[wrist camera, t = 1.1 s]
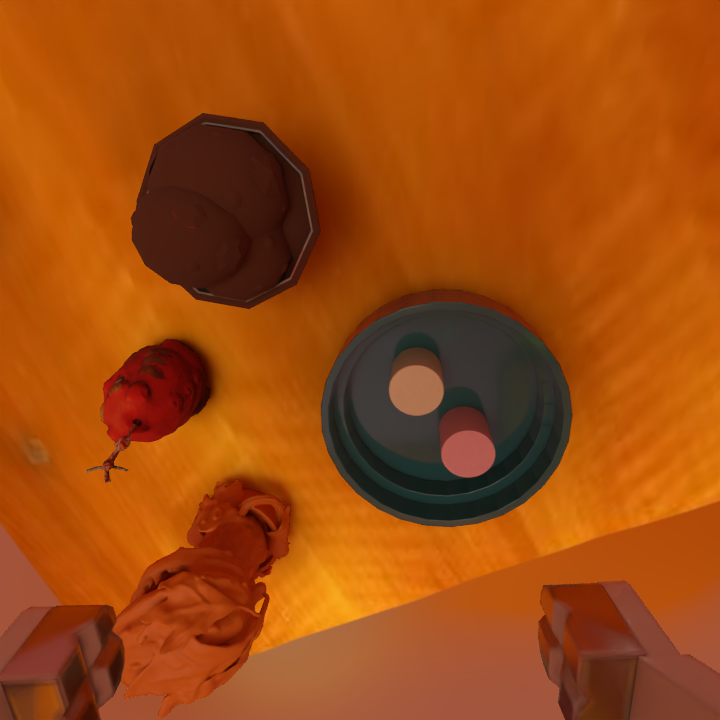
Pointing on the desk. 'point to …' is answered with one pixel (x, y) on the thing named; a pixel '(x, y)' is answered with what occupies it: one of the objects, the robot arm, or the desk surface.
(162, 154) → the ice cream bowl
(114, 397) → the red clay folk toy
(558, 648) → the robot arm
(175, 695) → the orange clay figurine
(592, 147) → the desk surface
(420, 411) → the cream marshmallow
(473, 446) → the pink marshmallow
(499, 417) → the bowl
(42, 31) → the desk surface
